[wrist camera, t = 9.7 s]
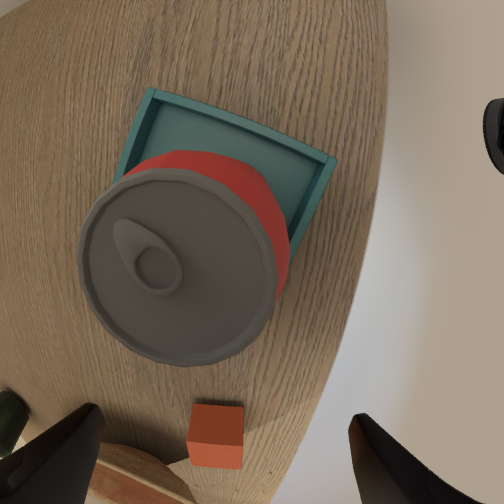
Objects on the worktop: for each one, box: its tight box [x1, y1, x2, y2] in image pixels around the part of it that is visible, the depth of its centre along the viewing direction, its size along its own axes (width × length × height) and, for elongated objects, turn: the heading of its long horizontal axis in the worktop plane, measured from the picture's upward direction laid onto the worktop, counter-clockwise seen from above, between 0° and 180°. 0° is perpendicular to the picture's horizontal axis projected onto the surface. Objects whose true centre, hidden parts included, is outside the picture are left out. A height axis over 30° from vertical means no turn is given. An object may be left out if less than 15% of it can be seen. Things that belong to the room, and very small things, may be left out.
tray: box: [112, 87, 338, 266], centre depth 18 cm, size 12×12×2 cm
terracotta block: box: [186, 403, 244, 469], centre depth 23 cm, size 5×5×5 cm
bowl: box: [88, 442, 198, 504], centre depth 26 cm, size 24×24×8 cm
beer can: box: [76, 150, 291, 367], centre depth 12 cm, size 7×7×12 cm
